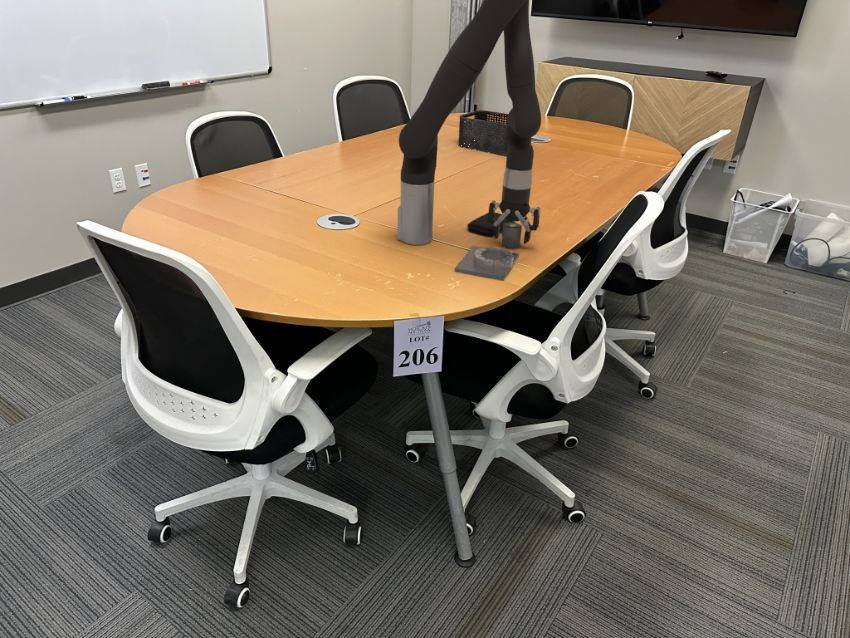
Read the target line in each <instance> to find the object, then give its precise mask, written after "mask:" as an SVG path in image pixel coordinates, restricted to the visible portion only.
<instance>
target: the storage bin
mask: <svg viewBox="0 0 850 638" xmlns="http://www.w3.org/2000/svg"><path fill="white" fill-rule="evenodd" d="M508 114H509V113H506V112H498V111H489V110H474V111H472V112H469V113H468V112H467V113H463V114H460V115H459V122H458V123H459V125H458V126H459V128H458V129H459V130H458V145H459V146H461V145H462V147H461V148H463V147H467V148H466V149H468V148H471V149H470V150H473V149H476V150H475V151H478V150H480V151H479V152H482V151H486V152H485V153H488V152H490V153H489V154H493V153H495V154H494V155H498V154H500V155H499V156H503V155H504V156H506V157H507V150H508V147H507V135H506V122H507V117H508ZM470 117H474V118H470ZM532 139H533V138H532V137H531V140H532ZM474 140H475V141H474ZM464 143H465V144H464ZM469 144H470V145H469ZM459 146H458V147H459ZM468 146H469V147H468Z"/></svg>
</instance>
